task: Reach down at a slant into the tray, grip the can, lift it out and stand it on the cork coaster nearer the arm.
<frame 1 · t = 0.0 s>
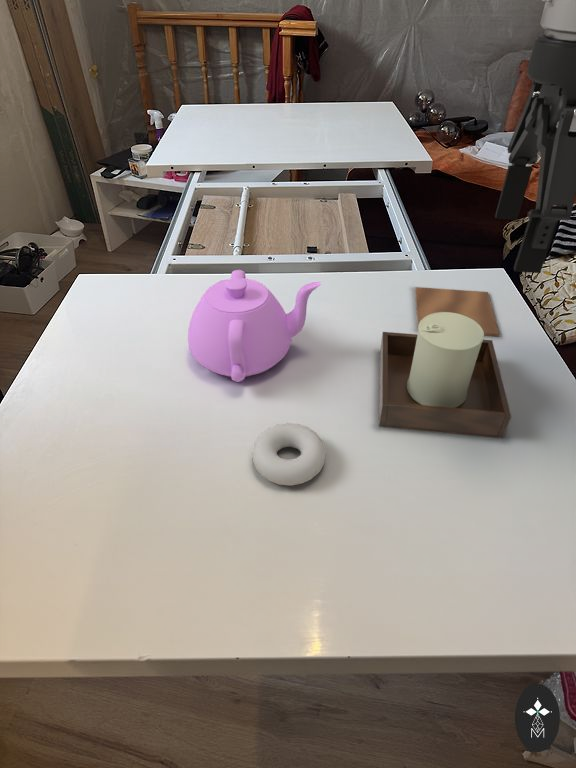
hand: (515, 242, 64), 26 cm above the table, tool pointing down, fingers open, 13 cm apart
tray: (435, 391, 83), on the table
coaster: (454, 311, 100), on the table
donut: (288, 461, 73), on the table
teapot: (254, 353, 91), on the table
can: (436, 390, 83), resting on tray
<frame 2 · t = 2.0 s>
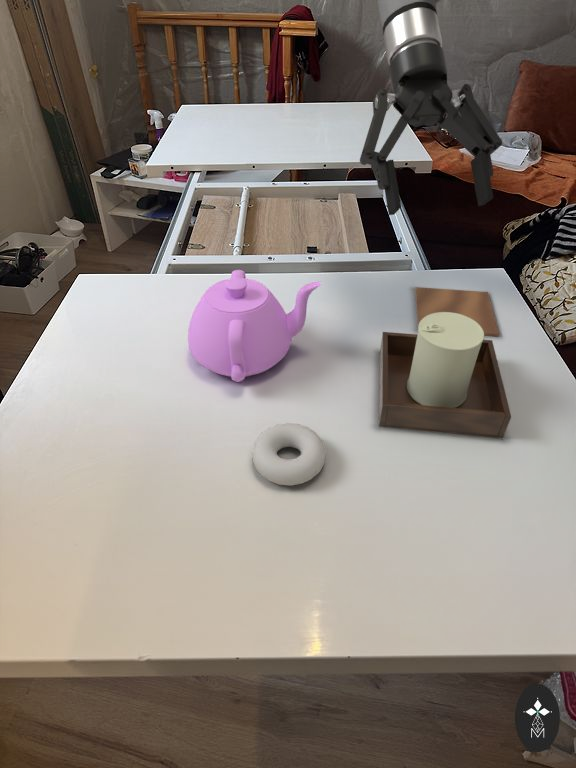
hand: (441, 206, 73), 26 cm above the table, tool tilted 45°, fingers open, 13 cm apart
nothing on the table moved.
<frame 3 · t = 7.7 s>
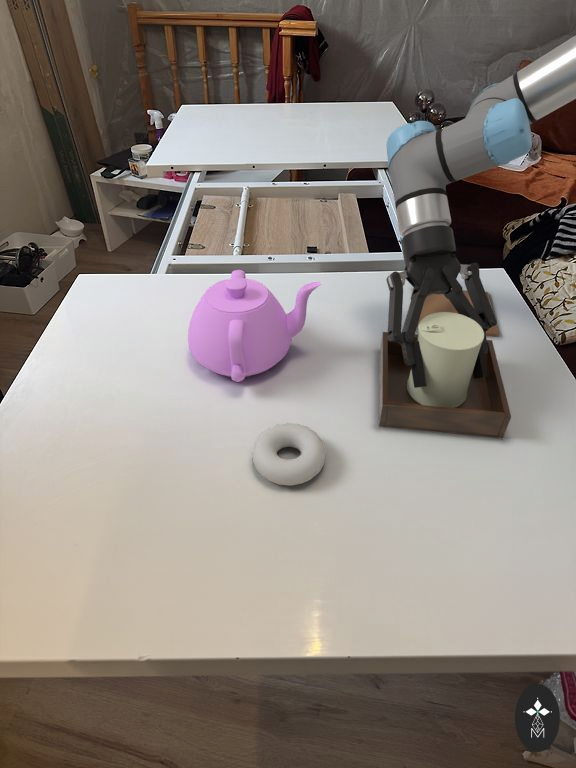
hand: (450, 382, 78), 5 cm above the table, tool tilted 45°, fingers closed on can, 9 cm apart
can: (436, 390, 83), resting on tray, touching gripper
everything else where it was.
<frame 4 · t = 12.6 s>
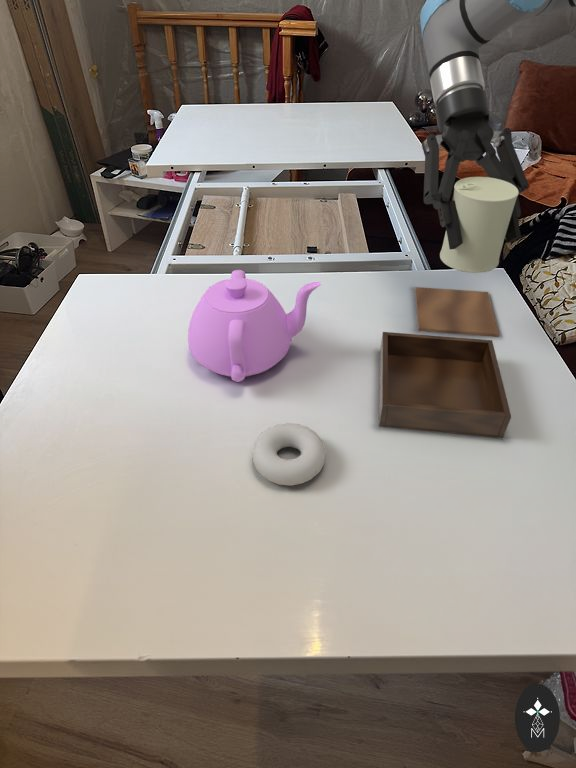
hand: (485, 243, 80), 19 cm above the table, tool tilted 45°, fingers closed on can, 9 cm apart
can: (468, 259, 86), point 14 cm above the table, touching gripper
everything else where it was.
when the fingers open (5 cm above the table, at t = 17.6 s): can stays where it is, resting on coaster.
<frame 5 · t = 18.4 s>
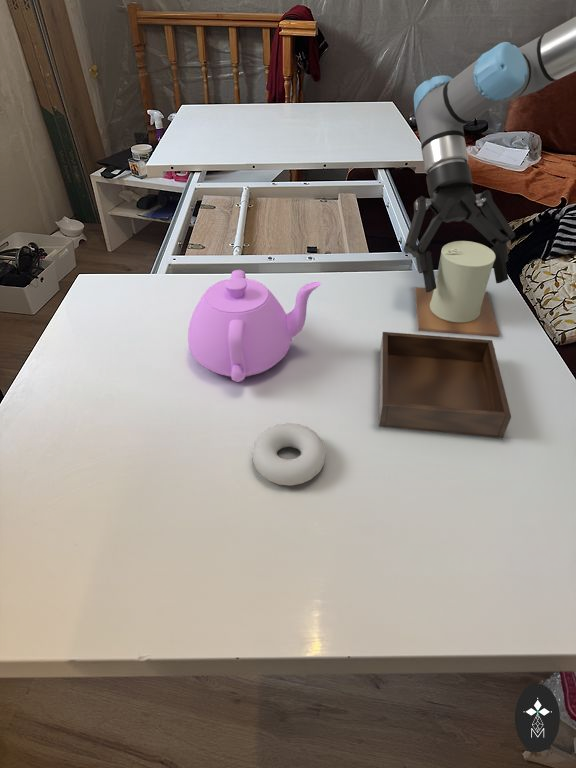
hand: (467, 286, 94), 7 cm above the table, tool tilted 45°, fingers open, 13 cm apart
can: (454, 309, 100), resting on coaster
everything else where it was.
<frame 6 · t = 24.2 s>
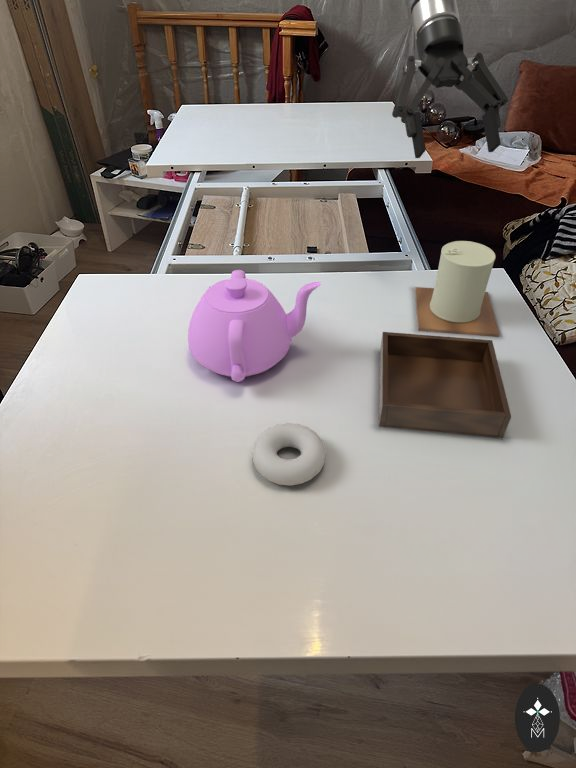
hand: (458, 151, 91), 26 cm above the table, tool tilted 45°, fingers open, 13 cm apart
nothing on the table moved.
at the end: can inside the target area on the coaster (0.1 cm from its centre), point 0.4 cm above the coaster's base; can tilted 0°; the gripper is holding nothing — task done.
